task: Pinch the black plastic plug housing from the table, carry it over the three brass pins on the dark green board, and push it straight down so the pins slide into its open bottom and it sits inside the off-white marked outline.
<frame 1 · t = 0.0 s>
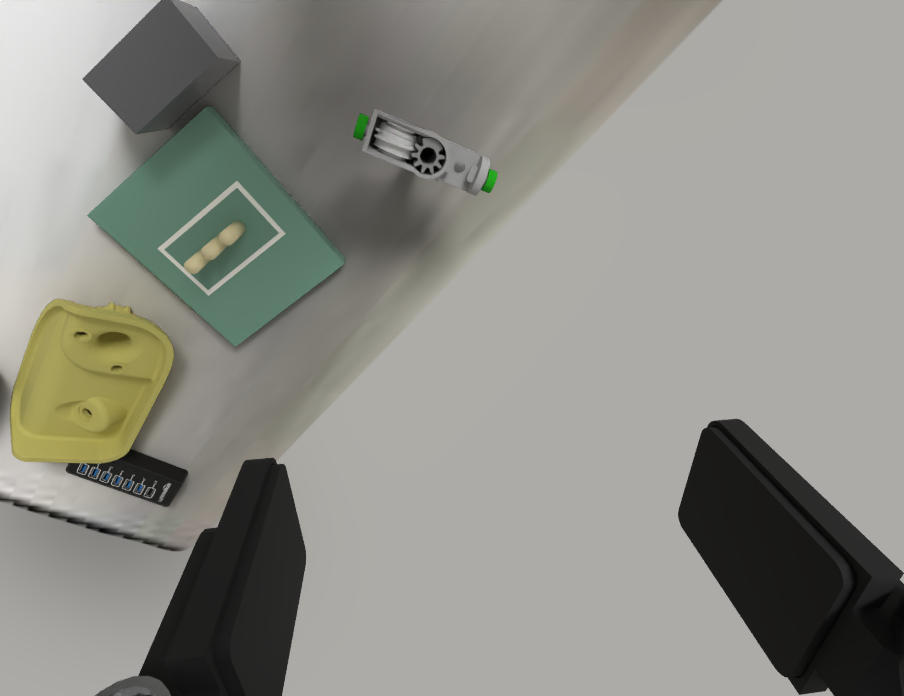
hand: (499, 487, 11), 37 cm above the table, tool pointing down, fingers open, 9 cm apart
mechanical component: (420, 142, 42), on the table
plug housing: (181, 71, 37), on the table
multiport hub: (135, 462, 55), on the table
plastic component: (110, 362, 49), on the table
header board: (227, 236, 43), on the table
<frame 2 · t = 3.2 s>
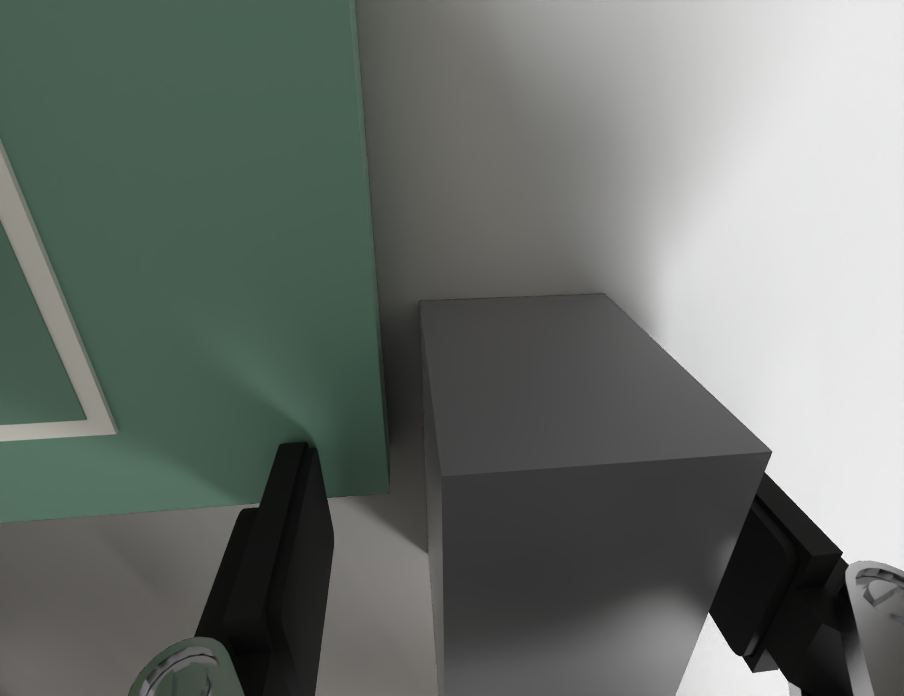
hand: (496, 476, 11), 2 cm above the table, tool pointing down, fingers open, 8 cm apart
plug housing: (504, 442, 13), on the table
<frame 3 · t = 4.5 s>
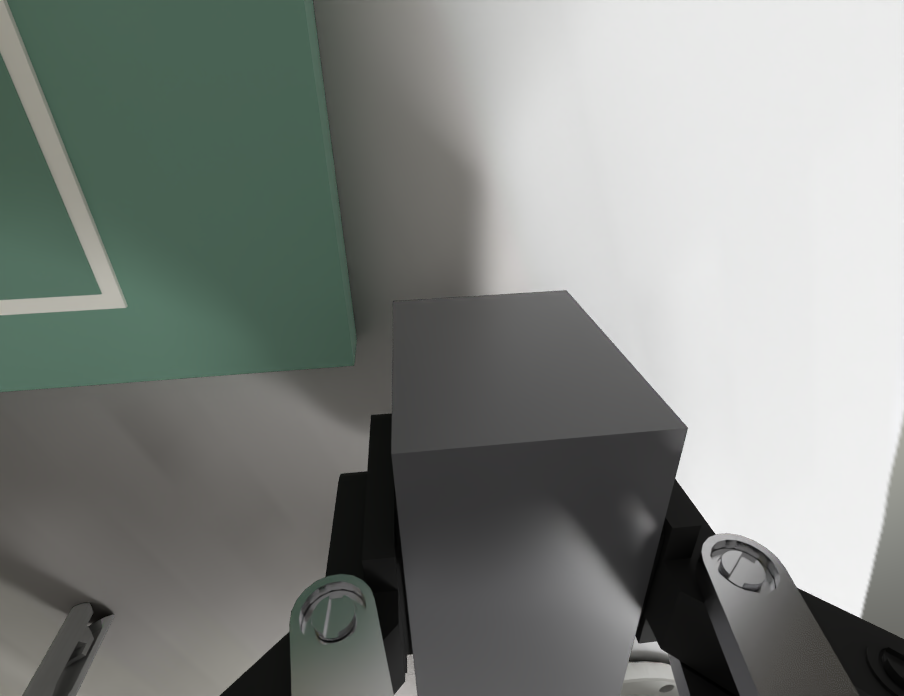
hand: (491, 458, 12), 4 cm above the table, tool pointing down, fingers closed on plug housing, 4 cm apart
mechanical component: (95, 609, 20), on the table
plug housing: (480, 432, 13), point 3 cm above the table, touching gripper
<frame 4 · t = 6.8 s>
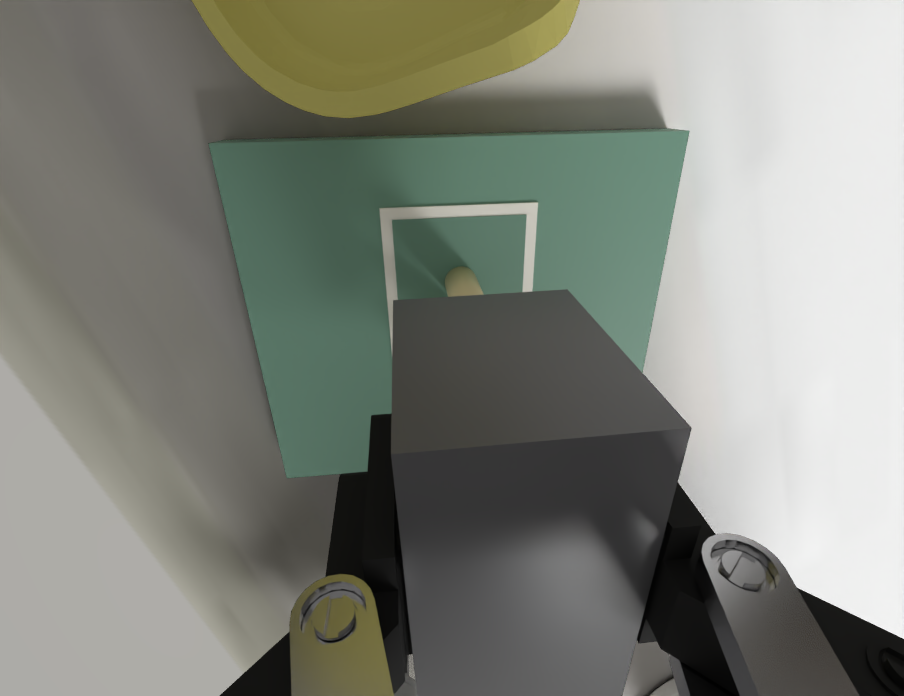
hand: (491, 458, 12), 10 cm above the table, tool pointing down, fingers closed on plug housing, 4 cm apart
mechanical component: (394, 603, 29), on the table
plug housing: (481, 432, 13), point 8 cm above the table, touching gripper
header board: (456, 313, 20), on the table
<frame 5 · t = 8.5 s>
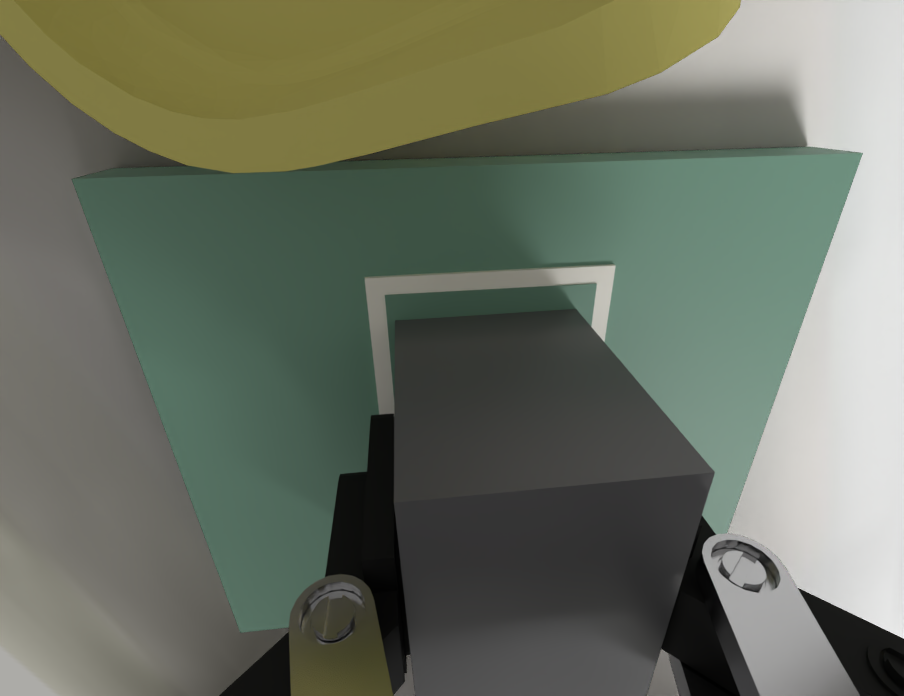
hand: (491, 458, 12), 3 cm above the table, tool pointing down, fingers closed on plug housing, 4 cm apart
plug housing: (485, 454, 13), point 2 cm above the table, touching gripper, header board
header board: (479, 409, 14), on the table
when the fingers open (3 cm above the table, at t = 9.5 s): plug housing stays where it is, resting on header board.
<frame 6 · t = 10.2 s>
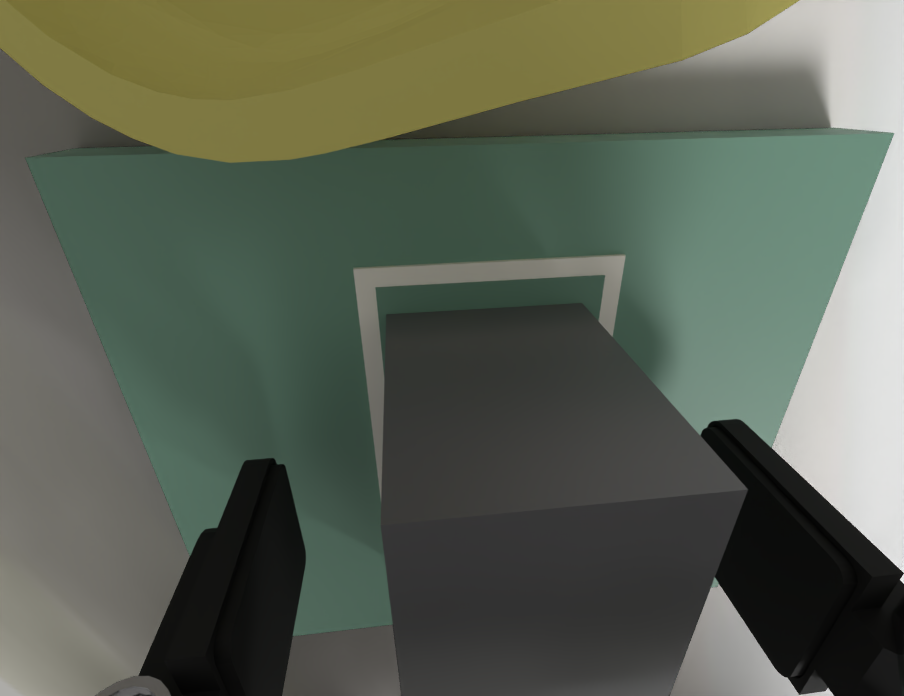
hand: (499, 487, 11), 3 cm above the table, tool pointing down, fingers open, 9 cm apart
plug housing: (482, 457, 12), point 2 cm above the table, touching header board
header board: (478, 409, 13), on the table
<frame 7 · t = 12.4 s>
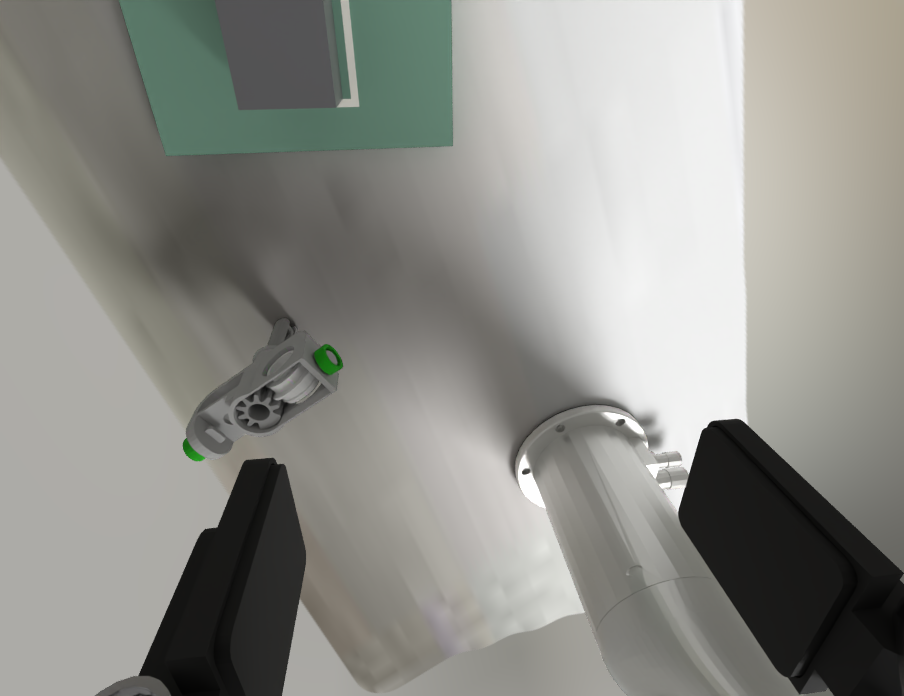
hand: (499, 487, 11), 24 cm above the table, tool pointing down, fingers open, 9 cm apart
mechanical component: (286, 326, 35), on the table
plug housing: (289, 6, 24), point 2 cm above the table, touching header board
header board: (295, 2, 25), on the table
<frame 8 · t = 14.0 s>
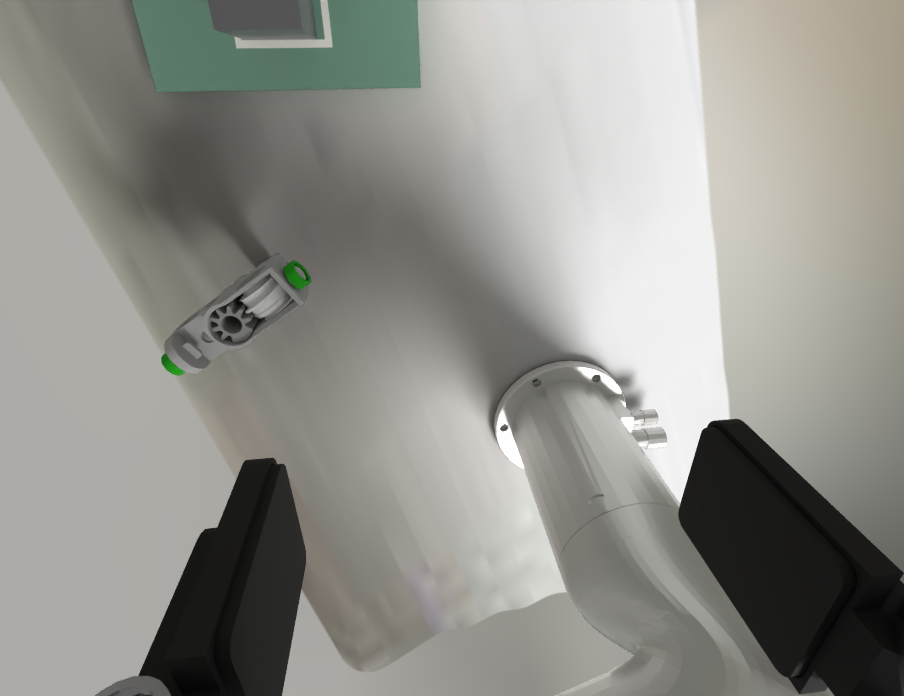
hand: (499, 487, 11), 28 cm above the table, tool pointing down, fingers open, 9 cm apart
mechanical component: (269, 269, 37), on the table
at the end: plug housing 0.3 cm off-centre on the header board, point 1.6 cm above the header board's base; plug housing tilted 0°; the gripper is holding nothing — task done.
